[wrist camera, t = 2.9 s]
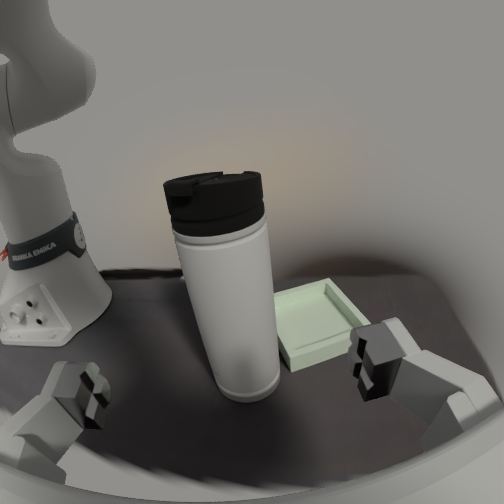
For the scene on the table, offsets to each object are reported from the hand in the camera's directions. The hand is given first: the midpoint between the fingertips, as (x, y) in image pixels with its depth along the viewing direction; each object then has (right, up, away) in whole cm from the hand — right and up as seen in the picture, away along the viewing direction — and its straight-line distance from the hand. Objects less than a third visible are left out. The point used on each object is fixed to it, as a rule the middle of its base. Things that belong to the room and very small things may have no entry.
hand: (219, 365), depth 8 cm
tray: (+8, -5, +24) cm, 26 cm away
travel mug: (+1, -9, +19) cm, 21 cm away
